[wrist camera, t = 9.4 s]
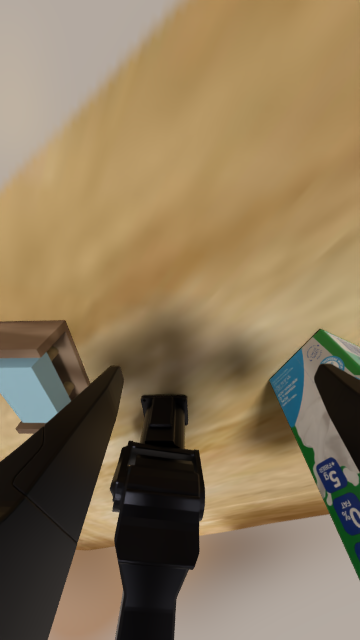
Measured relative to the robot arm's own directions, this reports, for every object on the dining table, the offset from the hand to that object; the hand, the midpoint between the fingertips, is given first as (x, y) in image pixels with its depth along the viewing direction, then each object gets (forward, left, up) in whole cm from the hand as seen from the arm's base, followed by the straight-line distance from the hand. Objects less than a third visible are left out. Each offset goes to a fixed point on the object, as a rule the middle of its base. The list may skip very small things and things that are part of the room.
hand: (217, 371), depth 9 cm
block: (-11, +19, -9) cm, 24 cm away
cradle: (-11, +19, -12) cm, 25 cm away
